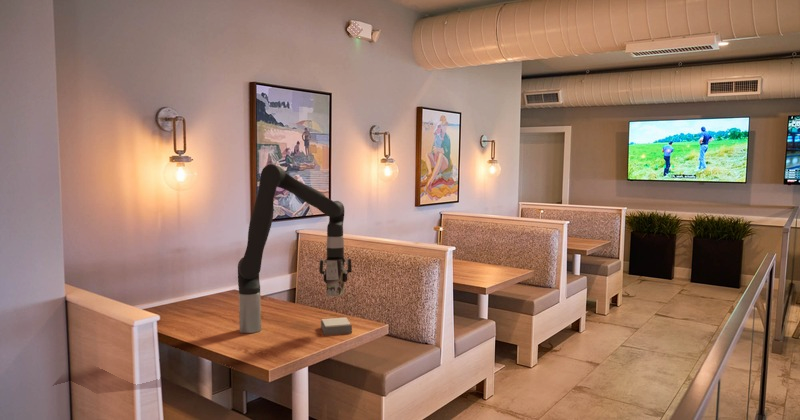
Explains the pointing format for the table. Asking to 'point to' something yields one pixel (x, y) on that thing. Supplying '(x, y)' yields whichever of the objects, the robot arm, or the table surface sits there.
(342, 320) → the pedestal
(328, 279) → the coffee box
